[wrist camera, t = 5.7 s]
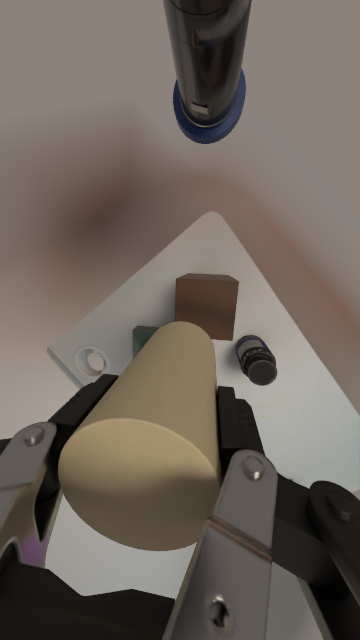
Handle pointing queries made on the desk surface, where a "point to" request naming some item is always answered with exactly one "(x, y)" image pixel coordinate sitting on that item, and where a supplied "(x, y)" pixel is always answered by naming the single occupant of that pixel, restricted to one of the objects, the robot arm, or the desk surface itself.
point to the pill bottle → (256, 360)
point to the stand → (207, 303)
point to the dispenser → (141, 337)
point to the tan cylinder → (151, 446)
